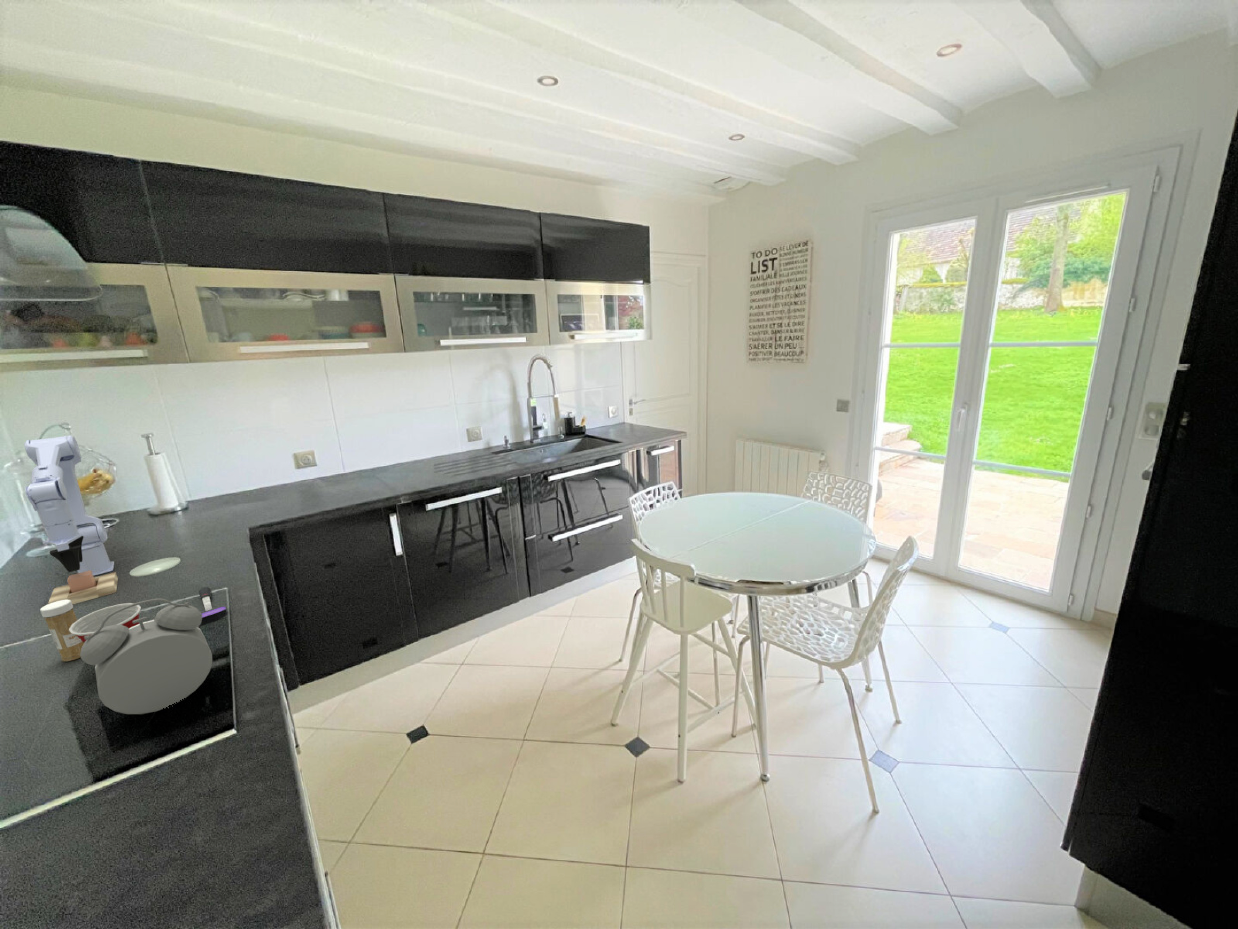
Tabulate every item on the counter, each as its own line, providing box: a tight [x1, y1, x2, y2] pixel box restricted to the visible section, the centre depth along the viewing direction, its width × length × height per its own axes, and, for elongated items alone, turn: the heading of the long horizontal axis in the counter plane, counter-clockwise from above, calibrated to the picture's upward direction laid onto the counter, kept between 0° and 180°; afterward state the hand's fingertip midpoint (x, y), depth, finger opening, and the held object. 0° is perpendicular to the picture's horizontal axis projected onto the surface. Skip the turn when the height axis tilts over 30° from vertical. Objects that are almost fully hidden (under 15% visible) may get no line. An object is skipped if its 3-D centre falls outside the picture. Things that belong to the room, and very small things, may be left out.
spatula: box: [198, 586, 227, 619], centre depth 128 cm, size 24×7×2 cm, turn 43°
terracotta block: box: [67, 570, 97, 593], centre depth 137 cm, size 4×4×6 cm
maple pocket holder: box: [47, 571, 119, 606], centre depth 138 cm, size 13×13×2 cm
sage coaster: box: [129, 556, 181, 578], centre depth 153 cm, size 12×12×1 cm
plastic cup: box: [69, 602, 142, 643], centre depth 103 cm, size 11×11×12 cm
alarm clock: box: [80, 597, 213, 715], centre depth 89 cm, size 16×9×22 cm, turn 139°
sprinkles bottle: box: [39, 600, 84, 662], centre depth 107 cm, size 5×5×13 cm
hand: (75, 566), depth 135 cm, fingers open, 7 cm apart
